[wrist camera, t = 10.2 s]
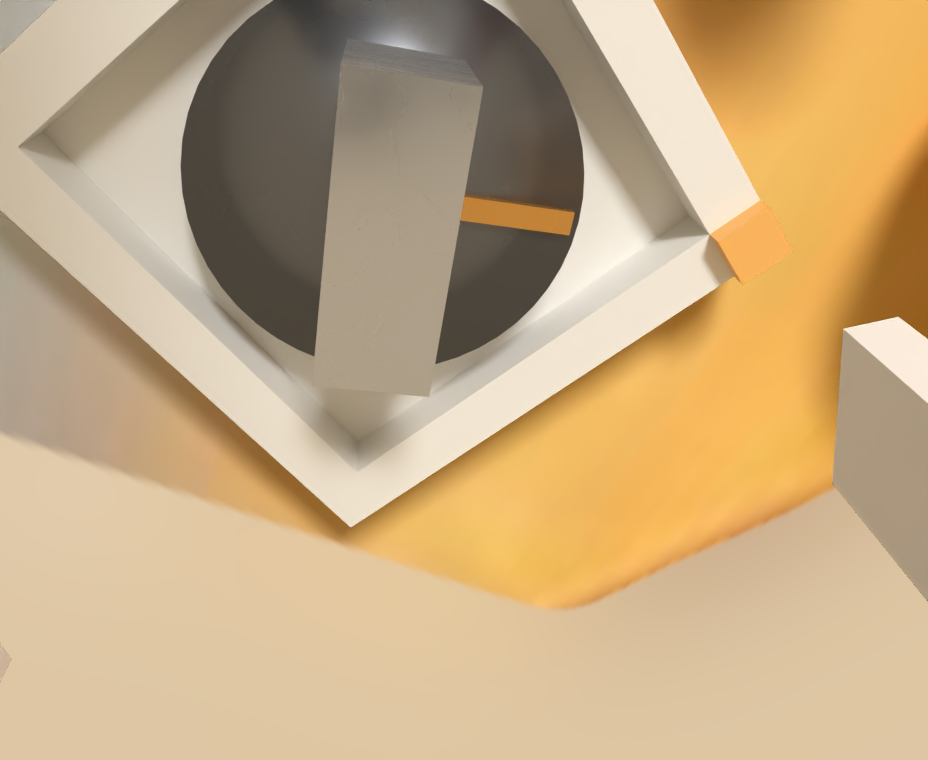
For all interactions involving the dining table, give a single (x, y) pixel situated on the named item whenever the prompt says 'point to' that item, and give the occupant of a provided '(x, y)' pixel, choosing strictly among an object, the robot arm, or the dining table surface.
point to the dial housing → (291, 371)
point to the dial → (382, 181)
